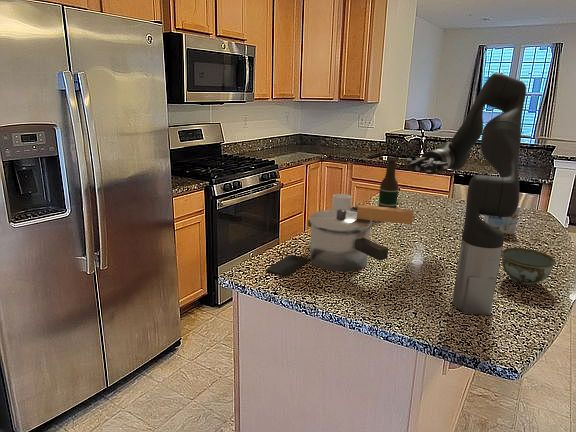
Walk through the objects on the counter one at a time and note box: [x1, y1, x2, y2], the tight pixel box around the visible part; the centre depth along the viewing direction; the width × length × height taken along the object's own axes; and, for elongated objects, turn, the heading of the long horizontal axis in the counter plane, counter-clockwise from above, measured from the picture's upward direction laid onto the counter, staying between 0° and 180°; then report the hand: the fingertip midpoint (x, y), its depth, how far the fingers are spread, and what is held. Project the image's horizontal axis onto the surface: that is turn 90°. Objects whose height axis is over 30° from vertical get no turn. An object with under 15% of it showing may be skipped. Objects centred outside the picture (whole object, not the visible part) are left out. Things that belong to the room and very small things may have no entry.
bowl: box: [501, 247, 556, 287], centre depth 122 cm, size 14×13×8 cm
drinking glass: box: [331, 193, 352, 211], centre depth 156 cm, size 7×7×15 cm
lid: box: [309, 204, 415, 233], centre depth 129 cm, size 30×19×6 cm, turn 73°
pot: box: [307, 219, 389, 273], centre depth 131 cm, size 32×18×12 cm, turn 33°
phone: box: [266, 254, 310, 277], centre depth 130 cm, size 7×1×15 cm
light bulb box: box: [483, 206, 520, 235], centre depth 167 cm, size 11×7×11 cm, turn 76°
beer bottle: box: [377, 158, 399, 208], centre depth 185 cm, size 8×8×24 cm
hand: (415, 168), depth 126 cm, fingers open, 3 cm apart
